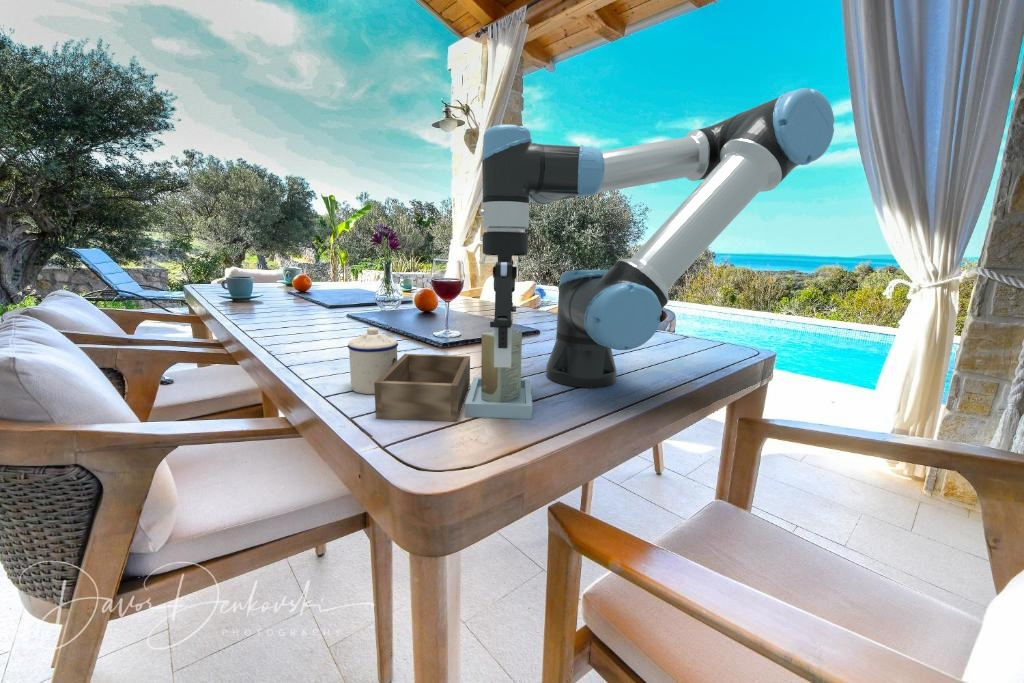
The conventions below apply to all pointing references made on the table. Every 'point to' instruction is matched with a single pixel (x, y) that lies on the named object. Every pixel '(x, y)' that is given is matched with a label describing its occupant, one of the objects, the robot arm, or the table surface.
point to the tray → (509, 409)
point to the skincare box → (500, 371)
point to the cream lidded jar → (370, 359)
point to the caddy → (423, 388)
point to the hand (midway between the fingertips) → (504, 355)
